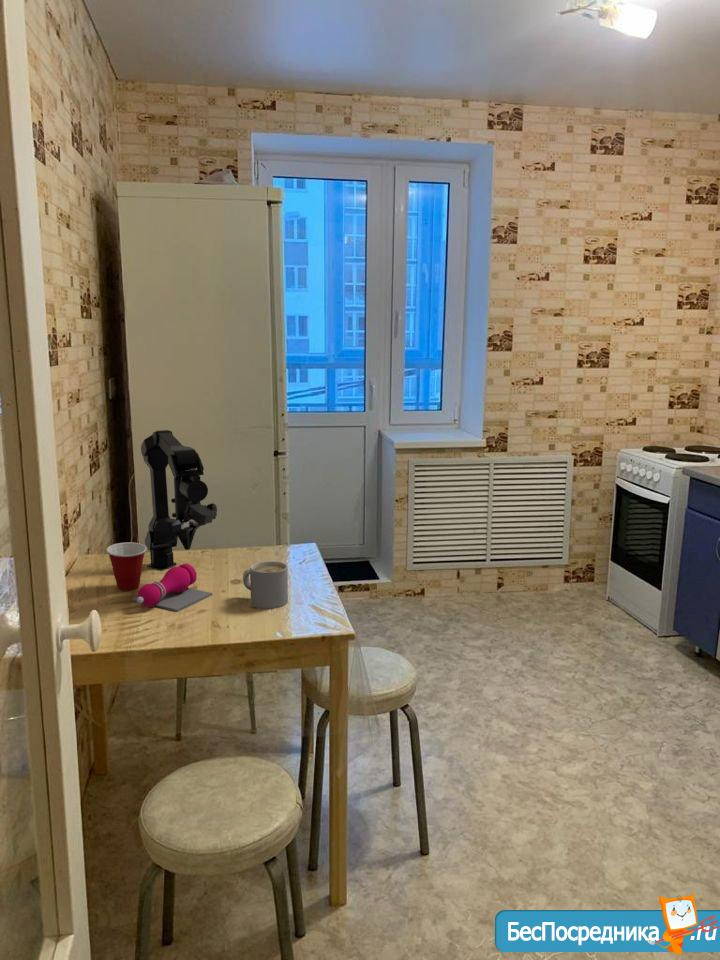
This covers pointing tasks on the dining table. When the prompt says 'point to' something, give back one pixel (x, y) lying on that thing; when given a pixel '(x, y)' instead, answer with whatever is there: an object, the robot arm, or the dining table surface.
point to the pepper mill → (167, 585)
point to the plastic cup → (127, 564)
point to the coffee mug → (267, 584)
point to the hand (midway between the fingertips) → (187, 549)
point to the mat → (181, 599)
